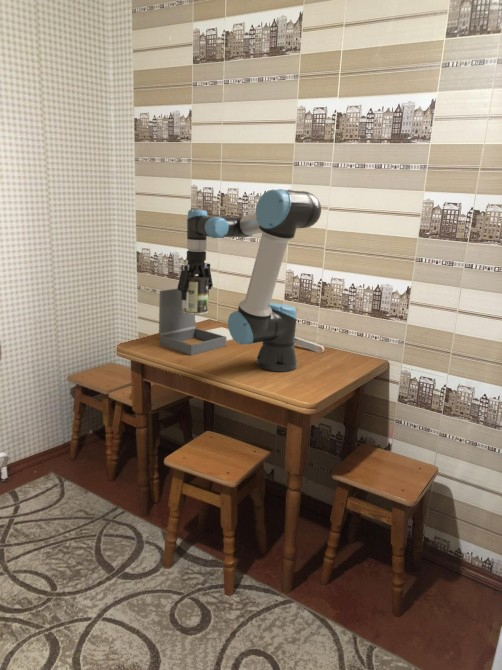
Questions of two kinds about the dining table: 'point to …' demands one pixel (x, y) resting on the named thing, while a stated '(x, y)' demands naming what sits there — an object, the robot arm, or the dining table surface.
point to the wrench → (308, 344)
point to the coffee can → (197, 296)
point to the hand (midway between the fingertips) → (195, 306)
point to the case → (182, 327)
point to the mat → (222, 332)
